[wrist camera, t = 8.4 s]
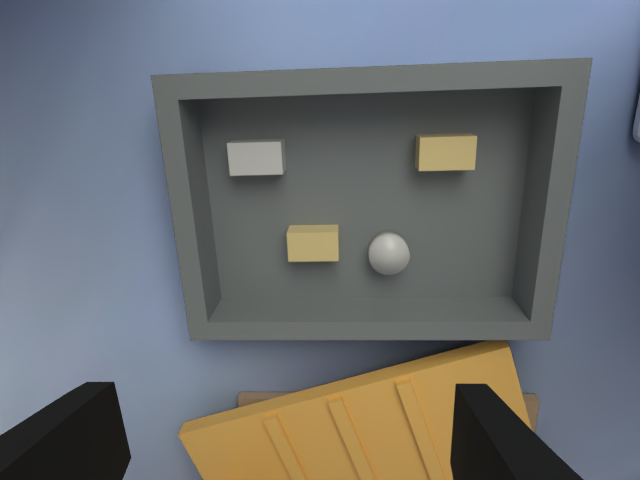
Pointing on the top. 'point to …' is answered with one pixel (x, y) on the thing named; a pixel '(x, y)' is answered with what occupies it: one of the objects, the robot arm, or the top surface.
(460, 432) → the robot arm
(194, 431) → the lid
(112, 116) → the top surface
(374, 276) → the parts tub
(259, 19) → the top surface
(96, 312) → the top surface
